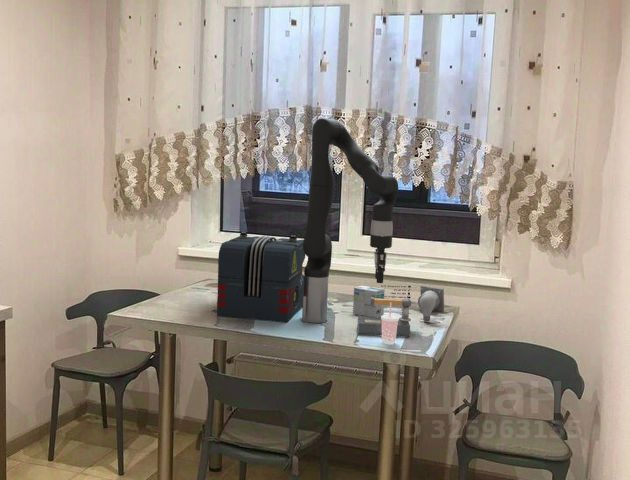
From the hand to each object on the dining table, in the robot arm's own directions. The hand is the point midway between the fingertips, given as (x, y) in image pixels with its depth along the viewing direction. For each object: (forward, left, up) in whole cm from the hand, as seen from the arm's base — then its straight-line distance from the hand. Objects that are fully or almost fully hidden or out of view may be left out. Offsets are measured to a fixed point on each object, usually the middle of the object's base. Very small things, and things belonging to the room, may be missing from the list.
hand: (379, 280), depth 235 cm
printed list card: (+18, +43, -20) cm, 51 cm away
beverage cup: (+4, -7, -20) cm, 22 cm away
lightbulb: (+21, +23, -20) cm, 37 cm away
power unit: (-43, +29, -20) cm, 55 cm away
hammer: (+5, +8, -11) cm, 15 cm away
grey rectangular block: (+3, +6, -20) cm, 21 cm away
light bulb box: (-1, +31, -20) cm, 37 cm away
